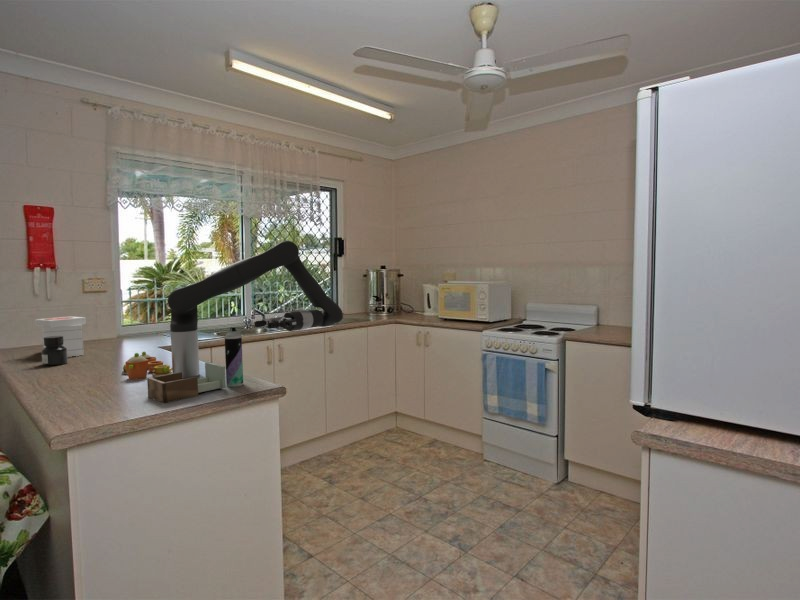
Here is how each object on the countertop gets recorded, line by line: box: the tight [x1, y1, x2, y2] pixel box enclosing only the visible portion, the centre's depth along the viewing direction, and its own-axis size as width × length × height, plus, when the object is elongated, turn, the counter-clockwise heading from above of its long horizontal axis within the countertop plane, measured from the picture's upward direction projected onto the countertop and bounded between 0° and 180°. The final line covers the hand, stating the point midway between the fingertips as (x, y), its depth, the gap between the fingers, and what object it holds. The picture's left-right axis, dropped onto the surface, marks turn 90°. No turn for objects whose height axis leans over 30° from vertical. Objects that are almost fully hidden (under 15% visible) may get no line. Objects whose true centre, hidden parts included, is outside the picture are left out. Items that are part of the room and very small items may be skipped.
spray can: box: [224, 327, 244, 388], centre depth 159 cm, size 6×6×20 cm
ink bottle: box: [41, 336, 69, 367], centre depth 201 cm, size 10×9×12 cm
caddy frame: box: [146, 372, 199, 404], centre depth 146 cm, size 12×10×6 cm
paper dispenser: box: [34, 315, 87, 358], centre depth 226 cm, size 19×30×18 cm, turn 39°
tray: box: [198, 361, 227, 394], centre depth 153 cm, size 12×10×7 cm
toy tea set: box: [121, 351, 173, 380], centre depth 181 cm, size 26×16×10 cm, turn 42°
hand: (261, 324), depth 166 cm, fingers open, 8 cm apart
